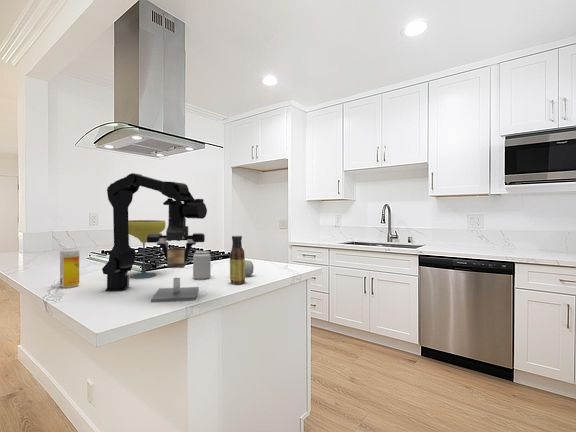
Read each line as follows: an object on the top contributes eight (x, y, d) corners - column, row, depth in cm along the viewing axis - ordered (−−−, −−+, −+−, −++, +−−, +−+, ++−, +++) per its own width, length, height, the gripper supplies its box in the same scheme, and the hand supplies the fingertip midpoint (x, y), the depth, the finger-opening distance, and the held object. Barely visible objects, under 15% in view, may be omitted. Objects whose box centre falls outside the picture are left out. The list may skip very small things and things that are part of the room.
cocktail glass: (116, 275, 140) (116, 220, 140) (157, 270, 152) (157, 220, 152) (127, 282, 127) (128, 221, 126) (171, 276, 139) (171, 221, 138)
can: (205, 280, 132) (205, 252, 132) (189, 279, 133) (189, 252, 133) (213, 276, 139) (213, 250, 139) (198, 276, 141) (198, 249, 140)
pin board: (151, 302, 100) (151, 283, 100) (159, 291, 114) (159, 274, 113) (195, 300, 103) (195, 282, 103) (198, 289, 117) (198, 273, 116)
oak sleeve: (167, 268, 105) (167, 250, 105) (169, 265, 110) (170, 248, 110) (183, 267, 106) (184, 250, 106) (185, 265, 111) (185, 248, 111)
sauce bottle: (239, 280, 132) (239, 234, 132) (248, 283, 128) (248, 235, 127) (226, 283, 128) (226, 235, 127) (235, 285, 123) (235, 236, 123)
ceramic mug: (254, 276, 140) (254, 260, 140) (237, 278, 136) (237, 261, 136) (245, 273, 149) (245, 257, 149) (229, 274, 145) (229, 258, 145)
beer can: (82, 285, 120) (82, 247, 120) (66, 289, 115) (66, 249, 114) (73, 283, 123) (73, 246, 123) (56, 287, 117) (56, 248, 117)
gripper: (143, 218, 98) (142, 267, 98) (203, 219, 102) (202, 265, 102) (150, 217, 109) (150, 261, 109) (205, 218, 113) (204, 260, 113)
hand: (176, 262), depth 108 cm, fingers closed on oak sleeve, 5 cm apart
